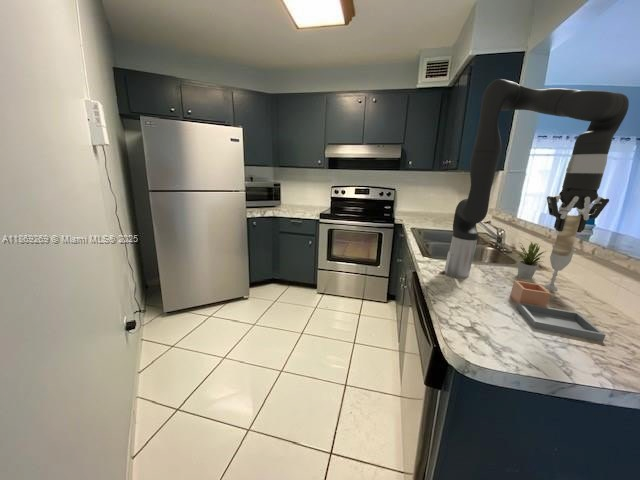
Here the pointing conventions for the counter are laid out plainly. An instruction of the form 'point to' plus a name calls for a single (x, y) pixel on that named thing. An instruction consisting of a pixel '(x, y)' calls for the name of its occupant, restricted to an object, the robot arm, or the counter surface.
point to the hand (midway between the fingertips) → (567, 231)
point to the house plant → (529, 261)
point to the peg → (567, 235)
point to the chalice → (558, 266)
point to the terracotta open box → (529, 293)
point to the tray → (560, 321)
